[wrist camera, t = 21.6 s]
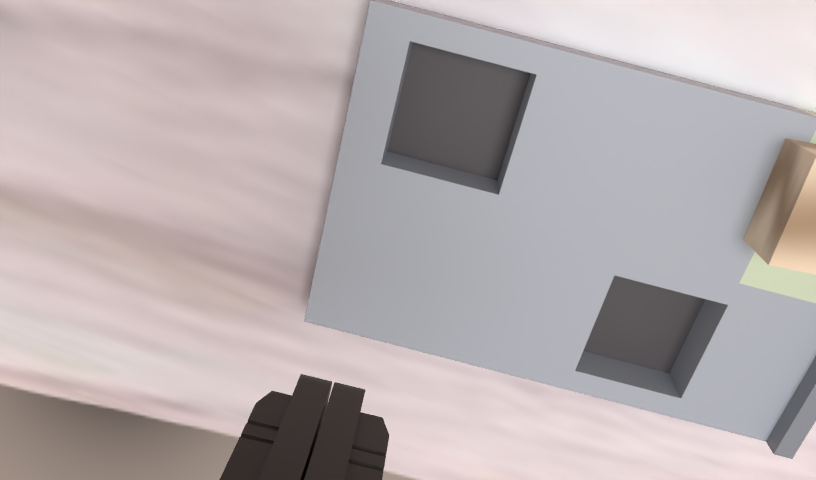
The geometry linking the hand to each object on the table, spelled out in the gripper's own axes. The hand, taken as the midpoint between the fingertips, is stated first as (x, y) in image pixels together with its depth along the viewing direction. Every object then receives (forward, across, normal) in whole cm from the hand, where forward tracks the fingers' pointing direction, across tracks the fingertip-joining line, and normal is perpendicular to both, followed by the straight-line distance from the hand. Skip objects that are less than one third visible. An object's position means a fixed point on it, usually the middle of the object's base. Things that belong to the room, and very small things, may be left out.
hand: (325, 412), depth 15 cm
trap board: (+27, -12, +3) cm, 30 cm away
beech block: (+24, -23, -2) cm, 33 cm away
